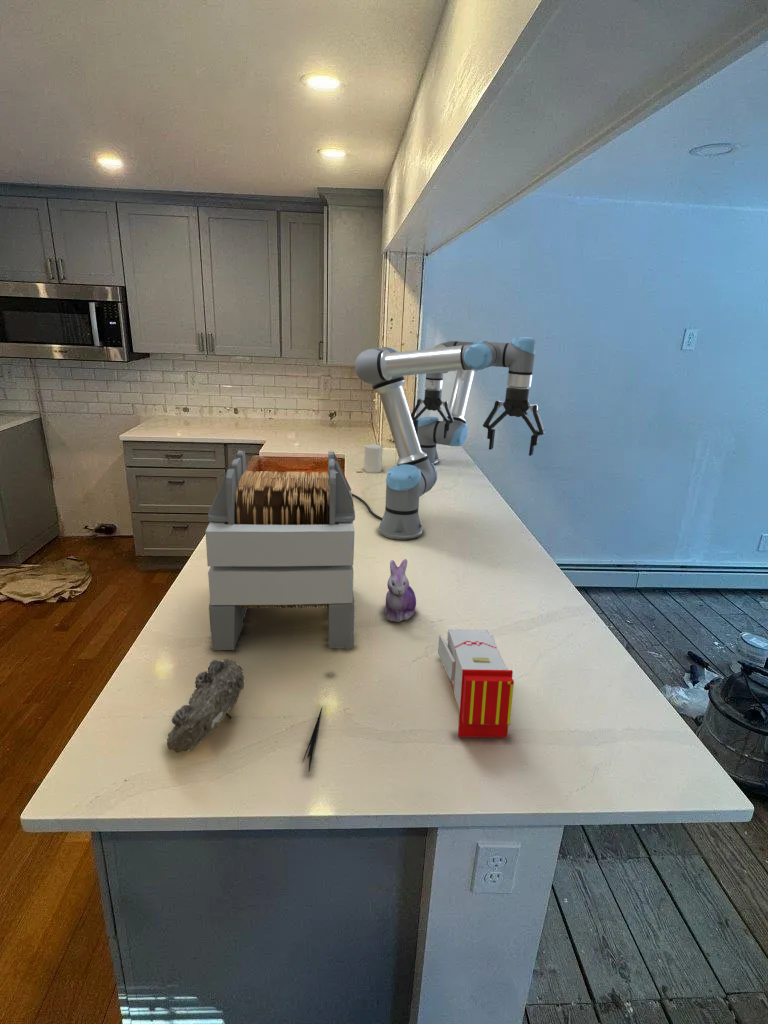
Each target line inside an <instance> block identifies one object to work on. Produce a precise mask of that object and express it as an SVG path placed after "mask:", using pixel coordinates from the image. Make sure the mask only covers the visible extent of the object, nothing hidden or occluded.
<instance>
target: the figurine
mask: <svg viewBox="0 0 768 1024" xmlns="http://www.w3.org/2000/svg"><path fill="white" fill-rule="evenodd" d="M407 567H408V559H406V558H404V559H403V560H402V561H401V563H400V565H399V566H398V565H397V563H396V562H395V561H394V560H393V559H391V560H390V561H389V570H390V576H389V578H388V579H387V589H388V591H387V592H386V594H385V595H386V596H385V607H384V615H385V616H386V620H387V621H391V622H395V623H400V622H402V621H406V620H409V619H410V618H411V617H413V616H414V615H415V610H416V606H417V597H416V593H415V591H414V590H413V587H411V586H410V582H409V579H408V577H407V574H406V571H407Z"/></svg>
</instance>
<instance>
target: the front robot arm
mask: <svg viewBox="0 0 768 1024" xmlns="http://www.w3.org/2000/svg"><path fill="white" fill-rule="evenodd" d="M536 345H537V341H536V339H535V338H533V337H527V336H526V337H525V336H523V337H522V336H514V337H513V338H512V339H511V342H498V341H497V342H496V341H488V340H482V341H479V340H478V341H476V342H475V344H470V345H461V346H451V347H442V348H434V347H432V348H425V349H424V348H423V349H416V350H415V349H414V350H405V351H398V350H397V349H395V348H392V347H387V346H382V347H376V348H368V349H367V348H366V349H365V350H363V351H361V352H360V353H359V354H358V356H357V357H356V360H355V363H354V371H355V373H356V375H357V377H358V378H359V379H360V380H361V381H362V382H364V383H366V384H370V385H371V386H372V387H371V388H372V391H373V392H375V393H376V394H378V395H379V397H380V398H379V399H380V401H381V404H382V407H383V410H384V411H383V412H384V414H385V417H386V420H387V423H388V424H387V425H388V426H389V430H390V434H391V436H392V440H393V441H394V442H393V443H394V445H395V449H396V452H397V455H398V460H397V462H396V465H393V466H392V467H390V468H389V469H388V470H387V473H386V478H385V504H384V505H385V507H384V508H385V509H384V513H383V515H382V517H381V516H380V515H378V514H376V513H375V512H373V511H372V509H371V507H370V506H369V504H368V503H367V502H366V501H365V500H364V499H362V498H361V497H360V496H358V495H357V494H354V493H352V497H354V498H356V499H357V500H359V501H360V502H362V504H364V505H365V507H366V508H367V510H368V512H369V513H370V514H371V515H372V516H374V517H375V518H377V519H379V520H380V521H381V522H379V526H378V533H379V534H380V535H381V536H382V537H385V538H387V539H389V540H395V541H410V540H415V539H418V538H420V537H421V536H422V535H423V525H422V524H421V518H420V515H419V507H420V506H419V505H420V498H421V497H423V495H425V494H426V493H428V492H430V491H431V490H432V489H433V487H434V486H435V484H436V483H437V480H438V471H437V468H436V466H435V465H433V463H431V462H430V461H429V459H428V456H427V454H426V453H424V452H422V451H421V447H420V444H419V441H418V437H417V434H416V431H415V427H414V424H413V420H412V418H411V412H410V408H409V404H408V401H407V398H406V395H405V392H404V388H403V386H404V384H405V382H406V380H405V376H416V375H417V376H418V375H426V374H428V373H439V372H447V373H449V372H450V373H451V372H457V371H461V370H478V371H481V370H485V369H487V368H490V367H496V368H497V367H499V368H508V373H507V379H506V386H508V387H507V388H506V389H505V398H504V401H503V400H500V399H498V400H495V401H494V405H493V407H492V409H491V411H490V413H489V414H488V416H487V417H486V419H485V421H484V422H483V424H482V427H483V428H485V429H487V435H486V438H487V440H489V441H488V442H489V443H488V444H489V445H488V450H489V451H491V450H493V449H494V443H495V437H496V436H495V435H496V429H495V427H496V426H497V425H498V424H499V423H500V422H501V421H503V419H504V418H506V416H509V417H516V418H520V417H521V418H522V419H523V421H524V422H525V423H526V425H527V426H528V428H529V430H530V431H531V433H532V435H531V436H530V442H529V451H528V456H530V457H532V456H533V455H534V450H535V447H536V446H537V445H538V443H539V437H540V436H543V435H544V434H545V433H546V429H545V427H544V424H543V421H542V418H541V415H540V413H539V404H537V403H536V404H530V395H531V389H530V388H531V386H532V379H533V371H534V364H535V356H536V347H537V346H536ZM502 407H503V408H504V411H503V412H502V413H501V414H500V415H499V416H498V417H497V418H496V419H495V420H494V421H493V422H492V420H493V418H494V417H495V415H496V414H497V412H498V411H499V409H500V408H502ZM529 409H530V412H532V414H533V417H534V420H535V424H536V425H535V424H534V422H533V420H532V419H531V417H530V415H529V414H528V410H529ZM491 422H492V423H491Z"/></svg>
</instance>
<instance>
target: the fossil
mask: <svg viewBox="0 0 768 1024" xmlns="http://www.w3.org/2000/svg"><path fill="white" fill-rule="evenodd" d="M243 670H244V669H243V667H242V665H240V664H237V662H236V661H235V660H234V659H232V658H231V659H227V658H226V659H224V660H223V661H222V660H217V659H212V660H211V661H210V663H209V665H208V666H207V671H201V672H199V673H198V674H197V675H196V676H195V680H194V684H195V685H194V687H195V689H194V690H193V693H192V694H191V697H190V698H189V700H188V704H184V705H182V706H181V707H180V709H177V710H176V711H175V713H174V715H173V716H172V718H171V723H172V724H173V727H172V730H171V731H170V732H168V734H167V738H166V741H167V742H166V745H167V749H168V750H169V751H173V752H174V753H176V754H178V753H182V752H188V751H189V752H192V751H193V750H195V748H196V747H197V746H199V744H200V743H201V742H203V741H204V740H205V739H206V738H207V737H208V736H209V735H210V734H211V733H212V732H214V730H215V729H217V727H218V726H219V724H220V722H221V721H222V720H223V719H224V718H225V716H226V717H227V719H229V720H233V717H232V715H230V714H229V710H230V709H231V708H234V706H235V704H236V703H237V702H238V699H239V697H240V695H241V693H242V691H243V690H245V689H244V688H245V675H244V671H243Z"/></svg>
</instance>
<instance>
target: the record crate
mask: <svg viewBox="0 0 768 1024" xmlns="http://www.w3.org/2000/svg"><path fill="white" fill-rule="evenodd" d="M327 456H328V457H327V462H328V463H327V471H322V472H321V473H320V472H319V471H311V472H307V471H284V472H283V471H281V472H278V471H271V470H269V471H267V470H265V471H262V470H261V471H259V470H258V471H257V470H256V471H253V470H247V458H246V450H240V449H238V450H237V452H236V454H235V456H234V457H233V459H232V462H231V464H230V466H229V468H227V470H226V472H225V474H224V477H223V479H222V480H221V483H220V486H219V487H218V490H217V491H216V495H215V496H214V499H213V501H212V503H211V504H210V505H211V506H210V508H209V510H208V513H207V517H208V522H209V523H208V525H207V527H206V529H205V533H204V534H205V548H206V558H207V559H206V563H207V567H209V569H208V571H207V574H208V575H207V577H208V589H209V604H208V615H209V630H210V634H211V647H210V649H211V651H212V652H214V651H215V652H218V651H234V649H235V647H236V645H237V643H238V641H239V638H240V635H241V633H242V630H243V619H245V618H246V614H247V609H249V610H250V609H273V608H274V609H276V608H277V609H280V608H281V609H293V608H294V609H296V608H298V609H302V608H309V609H310V608H315V609H316V608H327V637H328V638H327V639H328V640H327V641H328V649H349V650H350V649H352V648H353V647H354V646H355V645H354V643H355V607H356V606H355V597H354V559H355V558H354V555H355V526H354V525H355V524H354V522H355V520H356V511H355V505H354V499H353V496H352V494H353V493H352V487H351V486H350V484H349V481H348V479H347V477H346V475H345V473H344V471H343V469H342V467H341V464H340V462H339V459H338V458H337V455H336V453H335V452H334V451H330V450H329V451H327Z"/></svg>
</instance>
